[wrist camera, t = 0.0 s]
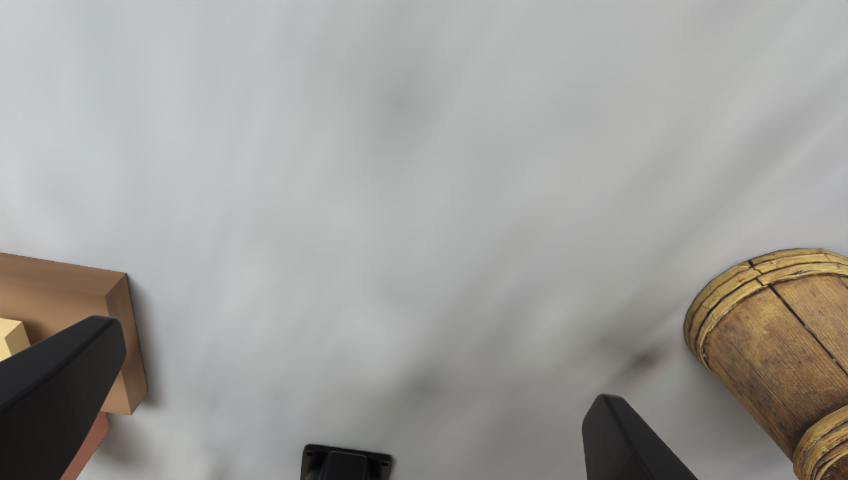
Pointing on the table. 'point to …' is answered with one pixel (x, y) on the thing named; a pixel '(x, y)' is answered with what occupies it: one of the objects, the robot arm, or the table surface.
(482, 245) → the table surface
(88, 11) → the table surface
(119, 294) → the board
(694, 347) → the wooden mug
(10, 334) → the pink and yellow hammer
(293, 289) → the table surface
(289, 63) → the table surface
